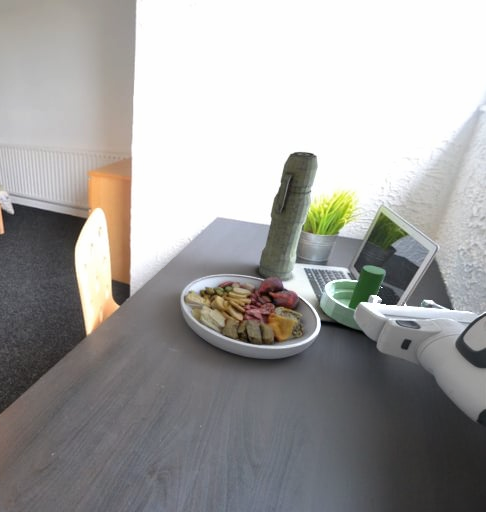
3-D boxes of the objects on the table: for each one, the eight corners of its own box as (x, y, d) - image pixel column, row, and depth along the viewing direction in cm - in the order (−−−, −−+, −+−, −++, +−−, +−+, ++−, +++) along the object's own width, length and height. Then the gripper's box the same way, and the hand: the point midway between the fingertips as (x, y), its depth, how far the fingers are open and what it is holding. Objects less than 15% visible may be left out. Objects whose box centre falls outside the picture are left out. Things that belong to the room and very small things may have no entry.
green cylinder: (363, 308, 92) (380, 266, 86) (372, 318, 88) (390, 275, 82) (344, 306, 93) (359, 264, 87) (351, 316, 89) (367, 273, 83)
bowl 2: (378, 299, 96) (385, 282, 94) (414, 339, 82) (422, 320, 80) (310, 293, 99) (315, 277, 97) (333, 330, 85) (339, 312, 83)
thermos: (299, 272, 109) (332, 152, 93) (279, 285, 103) (311, 159, 87) (270, 261, 116) (296, 148, 100) (249, 273, 109) (274, 154, 93)
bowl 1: (275, 390, 69) (285, 359, 66) (153, 319, 90) (156, 291, 87) (336, 326, 86) (346, 298, 83) (221, 278, 107) (225, 254, 104)
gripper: (523, 337, 60) (465, 292, 72) (381, 323, 64) (348, 283, 76) (504, 366, 63) (451, 318, 75) (369, 351, 67) (339, 308, 79)
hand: (398, 300), depth 76 cm, fingers open, 8 cm apart
